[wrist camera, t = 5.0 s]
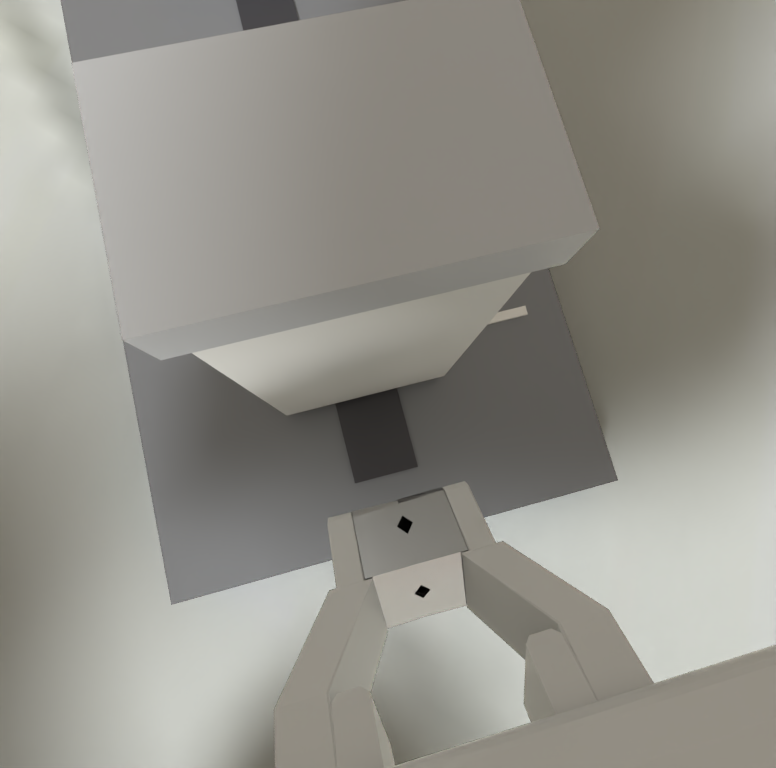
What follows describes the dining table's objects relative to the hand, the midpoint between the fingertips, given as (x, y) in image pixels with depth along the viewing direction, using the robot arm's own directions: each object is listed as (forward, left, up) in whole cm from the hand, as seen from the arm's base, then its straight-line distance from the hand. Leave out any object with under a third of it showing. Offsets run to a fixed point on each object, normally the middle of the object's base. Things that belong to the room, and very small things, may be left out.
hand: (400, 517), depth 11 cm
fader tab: (-4, +3, -4) cm, 6 cm away
